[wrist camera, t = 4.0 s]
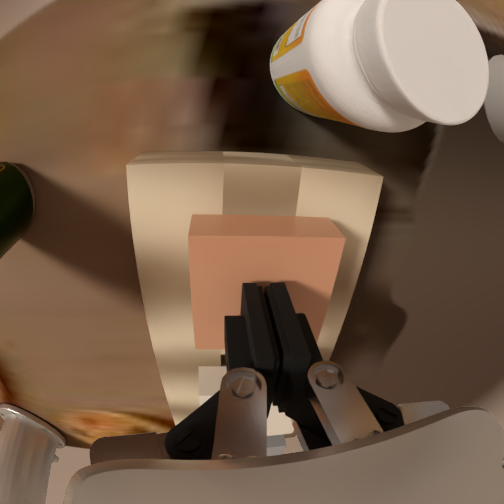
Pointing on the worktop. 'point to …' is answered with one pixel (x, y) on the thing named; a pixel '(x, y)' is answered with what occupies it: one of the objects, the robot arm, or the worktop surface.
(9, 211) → the beer can
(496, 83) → the can
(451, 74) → the supplement bottle
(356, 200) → the button board
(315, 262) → the terracotta tile
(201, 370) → the cream tile
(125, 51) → the worktop surface
